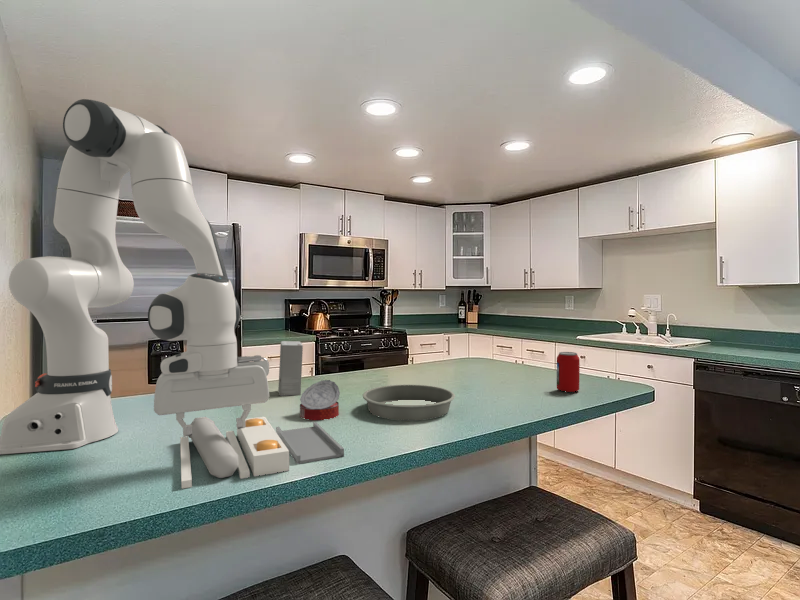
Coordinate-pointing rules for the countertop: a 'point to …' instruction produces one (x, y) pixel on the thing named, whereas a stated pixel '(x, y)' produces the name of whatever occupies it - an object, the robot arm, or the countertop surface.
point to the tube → (213, 448)
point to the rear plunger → (253, 422)
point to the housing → (248, 439)
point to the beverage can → (568, 371)
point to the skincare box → (290, 368)
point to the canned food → (320, 401)
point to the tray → (310, 444)
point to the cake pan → (408, 392)
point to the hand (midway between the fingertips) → (214, 431)
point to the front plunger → (266, 445)
